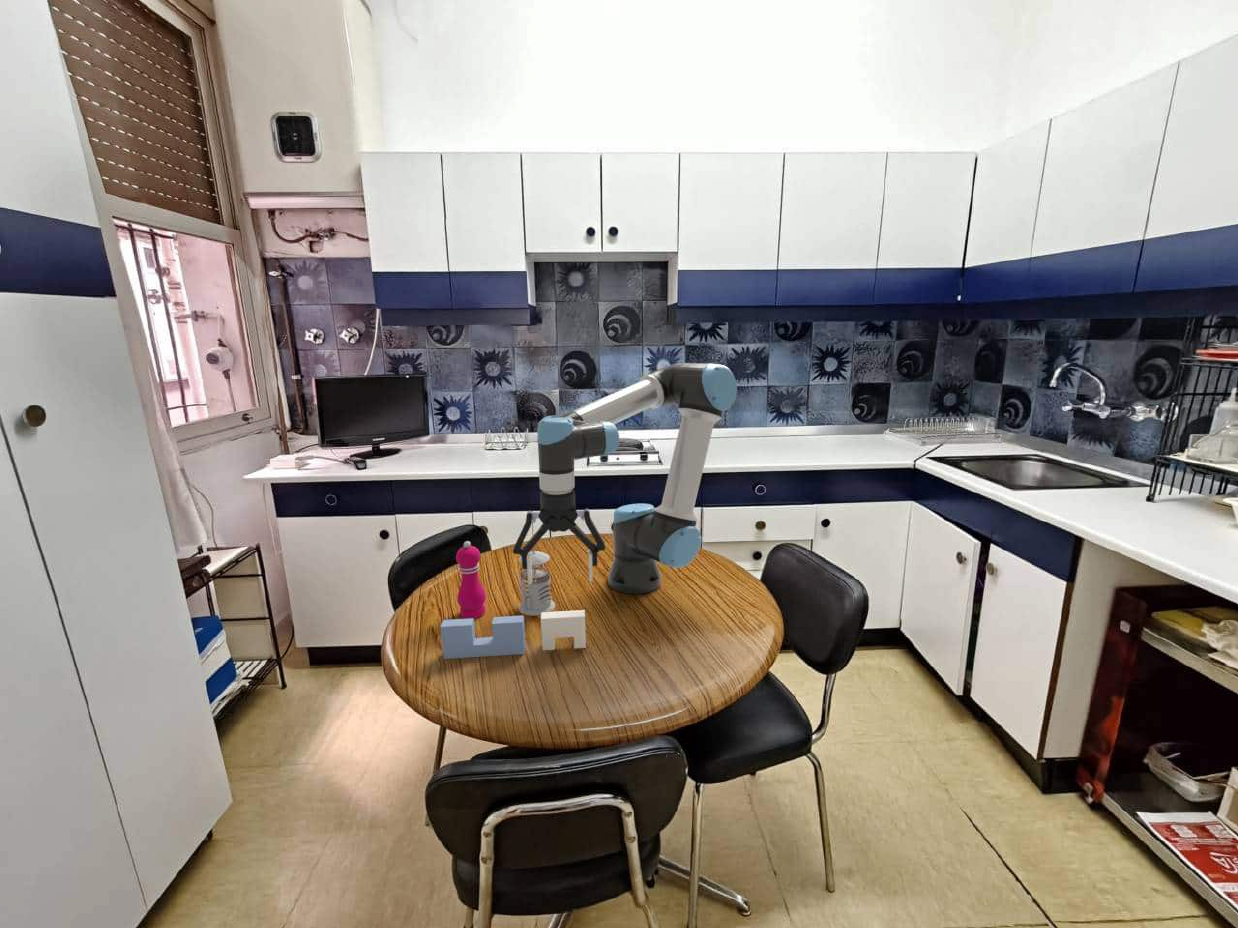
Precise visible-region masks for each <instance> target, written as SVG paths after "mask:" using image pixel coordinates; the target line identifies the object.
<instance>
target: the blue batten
mask: <svg viewBox="0 0 1238 928" xmlns="http://www.w3.org/2000/svg"><path fill="white" fill-rule="evenodd" d="M491 627H492V628H491V629H492V631H491V632H492V636H489V637H488V636H486V637H476V629H475V618H470V619H466V618H456V619H443V621H442V623H441V624H440V634H441V635H440V637H441V646H442V655H443V656H442V657H443V660H449V659H467V658H481V657H482V658H483V657H499V656H500V657H501V656H514V655H515V656H516V655H525V653H526V648H527V647H526V632H525V631H526V629H525V614H524V615H523V614H522V615H509V616H507V615H506V616H494V617H493V620H492V621H491Z"/></svg>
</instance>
